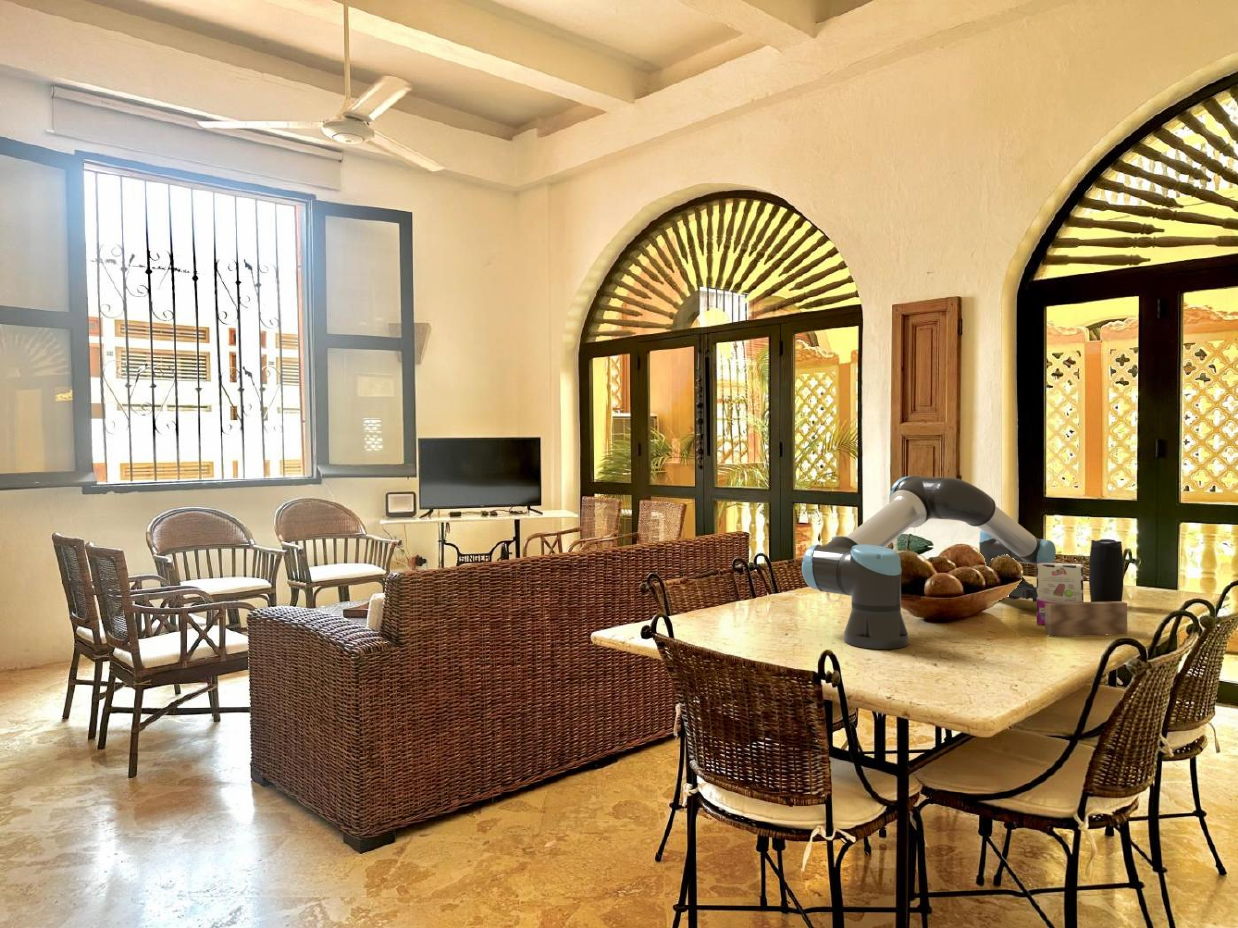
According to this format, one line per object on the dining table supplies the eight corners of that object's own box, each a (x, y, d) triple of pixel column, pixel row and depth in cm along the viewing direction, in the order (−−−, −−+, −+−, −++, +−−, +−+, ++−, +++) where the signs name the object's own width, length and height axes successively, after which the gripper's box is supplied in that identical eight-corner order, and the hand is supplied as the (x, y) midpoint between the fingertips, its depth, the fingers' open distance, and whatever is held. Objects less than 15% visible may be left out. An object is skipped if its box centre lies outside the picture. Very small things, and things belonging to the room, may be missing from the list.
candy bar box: (1083, 625, 230) (1083, 563, 229) (1083, 628, 225) (1084, 566, 225) (1036, 621, 235) (1036, 561, 235) (1036, 625, 231) (1036, 563, 230)
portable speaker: (1087, 607, 253) (1087, 541, 252) (1092, 602, 260) (1092, 538, 260) (1120, 610, 247) (1120, 542, 247) (1125, 605, 255) (1125, 539, 255)
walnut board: (1050, 636, 217) (1050, 604, 217) (1044, 634, 219) (1044, 603, 219) (1127, 634, 218) (1127, 603, 218) (1120, 632, 221) (1120, 601, 220)
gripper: (1029, 596, 258) (1076, 612, 234) (987, 597, 257) (1030, 613, 234) (1029, 571, 258) (1077, 584, 234) (987, 572, 257) (1030, 585, 233)
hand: (1053, 599), depth 234 cm, fingers closed
